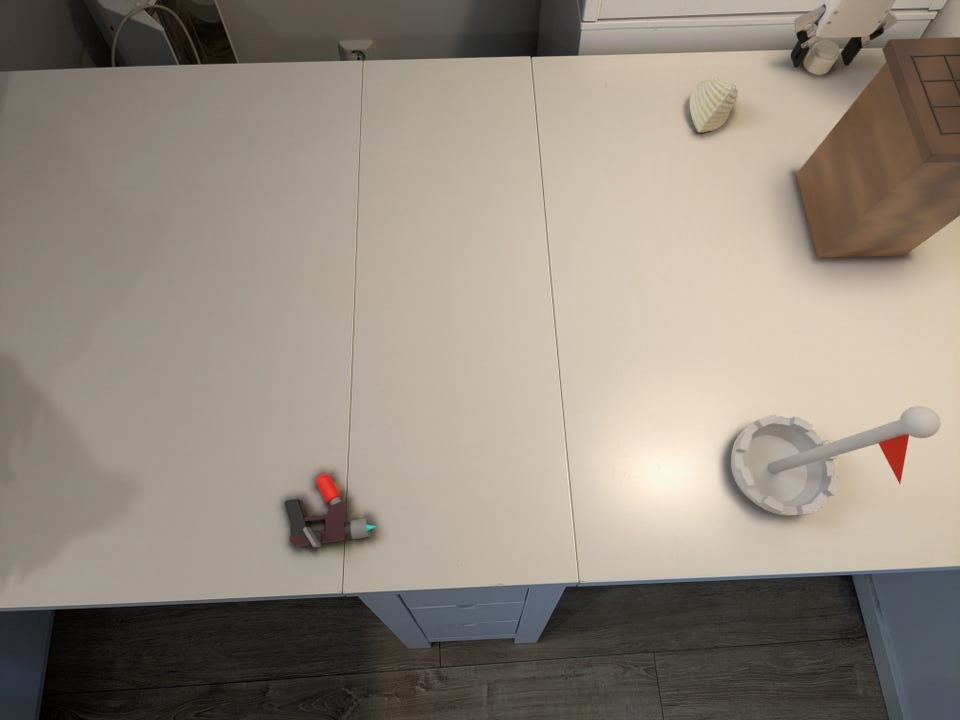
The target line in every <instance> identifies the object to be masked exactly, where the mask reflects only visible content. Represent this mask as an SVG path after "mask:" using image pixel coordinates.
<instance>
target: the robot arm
mask: <svg viewBox="0 0 960 720" xmlns="http://www.w3.org/2000/svg"><path fill="white" fill-rule="evenodd" d="M896 1H897V0H819V1H818V3H817V5H815V6H816V7H815V8H814V10H811V11H809V12H807V13H805V14H802V15H799V16H798V17H796V18H795V19H794V20H793V22H794V23H793V24H794V32H795V36H796V39H797V42H796V44H795V45H794V47H793V48H792V51H791V52H790V59H791V61H792V65H793V67H794V68H798V67H799V66H800V65H801V64H802V63H803V62H804V59H805V58H806V56H807V55H808V53H809V51H810V45H812V44H814V43H815V42H817V41H818V40H820V39H837V38H838V39H841V38H842V39H843V38H850V39H849V40H848V41H847V43H846V44H845V46H844V47H843V49H842V50H841V52H840V56H841V60H842V63H843V66H845V67H848V66H850V65H851V64H852V62H853V61H854V59H855V58H856V57H857V56H858V54H859V53H860V51H861V50H862V49H863V47H867V46H869V45H870V44H871V41H872V40H874V39H876V38H878V37H880V36H882V35H883V34H884V32H885V31H888V30H889V29H890V28H891V27H893V26H894V25H895V24H897V23H898V17H897V16H896V14H895V12H894V11H892V8H893V6H894V4H895V3H896ZM813 32H814V33H813ZM812 33H813V34H812ZM810 34H811V35H810ZM808 35H810V36H808Z"/></svg>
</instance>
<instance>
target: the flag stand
mask: <svg viewBox="0 0 960 720" xmlns="http://www.w3.org/2000/svg"><path fill="white" fill-rule="evenodd" d="M813 427H814V424H813V423H811V422H810V421H807V420H806V419H803V418H800V417H799V416H793V417H785V416H777V414H772V415H767V416H764V417H762V418H759V419H758V420H755V421H753V422H751V423H750V424H748V425H747V426H746V427H744V428H743V429H742V430H741V432H739V434H738V435H737V437H736V439H735V441H734V443H733V446H732V450H731V456H730V467H731V468H730V469H731V474H732V477H733V479H734V481H735V483H736V485H737V487H738V488H739V489H740V491H741V492H742V493H743V495H745V496H746V497H747V498H748V499H749V500H750V501H751V502H752V503H754V504H755V505H757V506H758V507H760V508H761V509H763V510H765V511H768V512H769V513H770V512H771V513H772V514H775V515H781V516H801V515H806V514H811V513H815V512H817V511H819V510H821V509H822V506H823V505H824V504H825V503H826V501H828V499H829V498H830V497H834V496H836V494H837V492H838V489H839V487H840V482H841V477H840V476H836V467H835V461H834V460H836V459H839V456H840V455H844V454H847V453H850V452H854V451H857V450H860V449H864V448H867V447H871V446H875V445H877V444H878V446H879V448H880V450H881V452H882V453H883V455H884V457H885V459H886V461H887V463H888V465H889V467H890V468H891V471H892V472H893V475H894V476H895V478H896V480H897V482H898V484H899V485H901V483H902V477H903V471H904V466H905V460H906V455H907V449H908V445H909V439H910V437H913V438H914V439H915V438H916V439H927V438H928V439H929V438H931V437H934V435H936V434H937V433H938V432H939V430H940V428H941V418H940V416H939V414H938V413H937V412H935V411H934V409H932V408H929V407H928V406H922V405H915V406H911V407H909V408H906V409H905V410H903V412H902V413H901V414H900V417H899V419H897V420H895V421H892V422H888V423H886V424H882V425H880V426H876V427H873V428H870V429H867V430H864V431H861V432H859V433H856V434H853V435H850V436H847V437H844V438H840V439H838V440H834V441H831V440H830V439H825V440H824V439H822V437H821V436H820V435H819V434H818V433H817V432H816V431H815V430H814V429H813Z"/></svg>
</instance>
